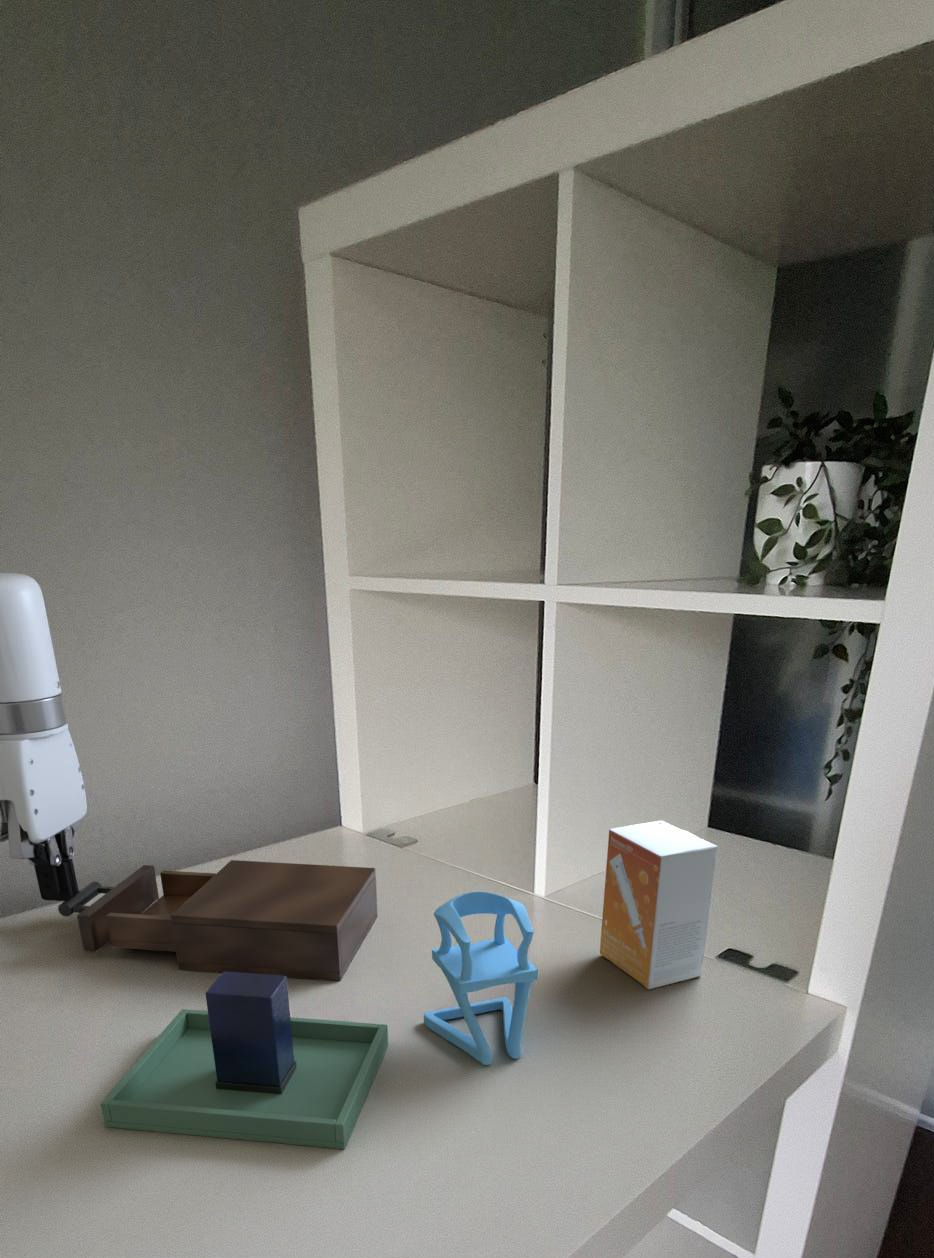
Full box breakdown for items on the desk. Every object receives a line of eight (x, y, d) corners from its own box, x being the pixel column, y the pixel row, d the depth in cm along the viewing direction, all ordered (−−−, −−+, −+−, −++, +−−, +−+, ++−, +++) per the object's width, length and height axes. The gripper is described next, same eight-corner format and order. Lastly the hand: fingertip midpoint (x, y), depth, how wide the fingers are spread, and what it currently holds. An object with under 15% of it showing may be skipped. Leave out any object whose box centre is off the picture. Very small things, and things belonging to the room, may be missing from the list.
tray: (104, 1127, 63) (99, 1103, 62) (185, 1029, 75) (182, 1008, 74) (344, 1149, 61) (343, 1125, 60) (388, 1045, 73) (387, 1024, 72)
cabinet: (178, 969, 85) (170, 915, 82) (236, 908, 98) (231, 859, 96) (340, 981, 83) (336, 925, 81) (377, 917, 96) (375, 867, 94)
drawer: (41, 948, 86) (33, 912, 85) (111, 895, 99) (105, 862, 97) (229, 961, 84) (225, 924, 83) (277, 905, 96) (274, 872, 95)
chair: (457, 1073, 69) (456, 931, 64) (422, 1021, 76) (419, 890, 71) (547, 1053, 72) (553, 915, 67) (506, 1005, 79) (508, 877, 74)
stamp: (215, 1089, 66) (202, 993, 63) (234, 1062, 70) (222, 970, 66) (281, 1094, 66) (271, 998, 63) (297, 1067, 69) (288, 974, 66)
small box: (597, 955, 88) (606, 827, 83) (651, 943, 91) (663, 818, 85) (647, 991, 82) (661, 855, 76) (703, 977, 84) (720, 844, 79)
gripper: (30, 699, 91) (66, 869, 99) (-70, 732, 78) (-20, 926, 86) (100, 701, 90) (130, 872, 98) (11, 735, 77) (54, 930, 85)
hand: (60, 897), depth 92 cm, fingers closed
